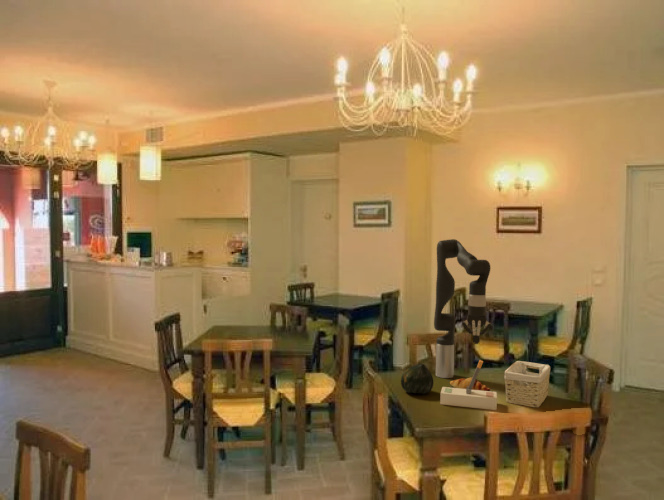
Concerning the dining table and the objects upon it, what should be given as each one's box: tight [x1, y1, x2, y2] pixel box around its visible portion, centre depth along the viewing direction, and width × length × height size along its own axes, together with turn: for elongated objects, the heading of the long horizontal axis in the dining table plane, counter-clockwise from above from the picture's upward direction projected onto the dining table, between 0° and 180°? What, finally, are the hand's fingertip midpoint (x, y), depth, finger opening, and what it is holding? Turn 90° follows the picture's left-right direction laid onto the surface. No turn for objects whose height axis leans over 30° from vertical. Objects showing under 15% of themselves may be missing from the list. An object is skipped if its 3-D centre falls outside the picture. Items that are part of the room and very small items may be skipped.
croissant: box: [449, 377, 491, 391], centre depth 264 cm, size 21×10×8 cm, turn 50°
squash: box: [400, 363, 434, 395], centre depth 259 cm, size 14×15×15 cm
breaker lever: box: [468, 359, 484, 390], centre depth 243 cm, size 3×2×14 cm, turn 164°
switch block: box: [439, 386, 498, 411], centre depth 249 cm, size 20×24×7 cm
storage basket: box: [504, 360, 551, 408], centre depth 251 cm, size 24×16×15 cm
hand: (476, 343), depth 242 cm, fingers closed
